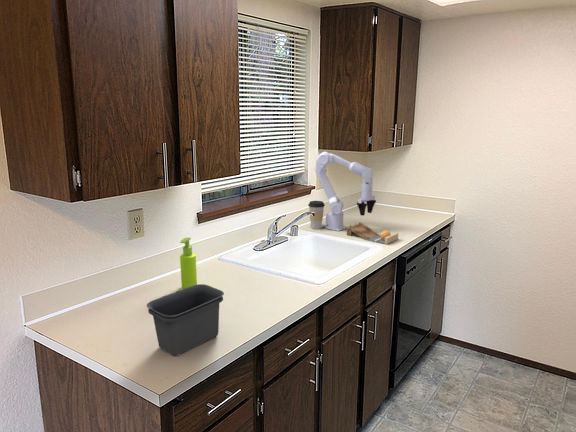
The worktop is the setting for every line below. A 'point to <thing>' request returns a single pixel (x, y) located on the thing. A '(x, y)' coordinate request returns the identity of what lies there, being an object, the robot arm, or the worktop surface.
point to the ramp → (361, 231)
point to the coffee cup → (316, 213)
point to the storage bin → (186, 317)
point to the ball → (385, 234)
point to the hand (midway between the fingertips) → (365, 214)
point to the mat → (379, 239)
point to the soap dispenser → (188, 265)
